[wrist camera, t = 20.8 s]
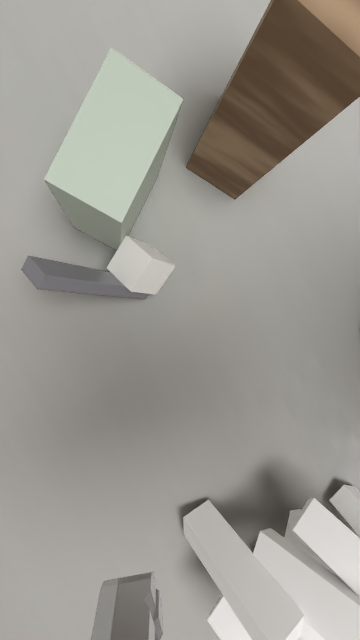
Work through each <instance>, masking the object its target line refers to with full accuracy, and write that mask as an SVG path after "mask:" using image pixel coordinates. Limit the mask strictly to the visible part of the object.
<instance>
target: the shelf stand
mask: <svg viewBox="0 0 360 640" xmlns="http://www.w3.org/2000/svg"><path fill="white" fill-rule="evenodd" d="M358 97H360V0H271V1H270V3H269V5H268V7H267V9H266V11H265V13H264V15H263V17H262V19H261V21H260V23H259V25H258V26H257V28H256V30H255V32H254V34H253V36H252V38H251V40H250V42H249V44H248V46H247V48H246V50H245V52H244V53H243V55H242V57H241V59H240V61H239V63H238V65H237V67H236V69H235V71H234V73H233V75H232V77H231V79H230V81H229V82H228V84H227V86H226V88H225V90H224V92H223V94H222V96H221V98H220V100H219V102H218V104H217V106H216V108H215V110H214V112H213V114H212V116H211V118H210V120H209V122H208V124H207V126H206V128H205V130H204V132H203V134H202V136H201V138H200V140H199V142H198V144H197V146H196V148H195V150H194V152H193V154H192V156H191V158H190V160H189V162H188V164H187V166H186V168H187V169H189V170H191V171H192V172H194V173H195V174H197V175H198V176H200V177H201V178H203V179H204V180H206V181H207V182H209V183H211V184H212V185H214V186H215V187H217V188H218V189H220V190H221V191H223V192H224V193H226V194H227V195H229V196H231V197H232V198H234V199H236V198H237V197H239V196H240V195H241V194H242V193H243V192H245V191H246V190H247V189H248V188H249V187H251V186H252V185H253V184H254V183H255V182H257V181H258V180H259V179H260V178H262V177H263V176H264V175H265V174H266V173H268V172H269V171H270V170H271V169H272V168H274V167H275V166H276V165H277V164H278V163H280V162H281V161H282V160H283V159H285V158H286V157H287V156H288V155H289V154H291V153H292V152H293V151H294V150H295V149H297V148H298V147H299V146H300V145H302V144H303V143H304V142H305V141H306V140H308V139H309V138H310V137H311V136H312V135H314V134H315V133H316V132H317V131H318V130H320V129H321V128H322V127H323V126H325V125H326V124H327V123H328V122H329V121H331V120H332V119H333V118H334V117H335V116H337V115H338V114H339V113H340V112H341V111H343V110H344V109H345V108H346V107H348V106H349V105H350V104H351V103H352V102H354V101H355V100H356V99H357V98H358Z"/></svg>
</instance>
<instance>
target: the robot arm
mask: <svg viewBox="0 0 360 640" xmlns="http://www.w3.org/2000/svg"><path fill="white" fill-rule="evenodd" d="M162 634H163V617H162V604H161V598H160V593H159V590H157V589H156V578H155V575H154V572H149V573H144V574H138V575H133V576H128V577H123V578H116V579H112V580H107V581H104V582H103V584H102V587H101V589H100V594H99V600H98V605H97V610H96V616H95V621H94V626H93V631H92V637H91V640H160V639H161V636H162Z"/></svg>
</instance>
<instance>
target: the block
mask: <svg viewBox="0 0 360 640" xmlns="http://www.w3.org/2000/svg"><path fill="white" fill-rule="evenodd" d="M182 102H183V98H181V97H180V96H179V95H177V94H176V93H174V92H173V91H172V90H170V89H169V88H167V87H166V86H165V85H163V84H162V83H160V82H159V81H158V80H156V79H155V78H153V77H152V76H151V75H149V74H148V73H146V72H145V71H144V70H142V69H141V68H139V67H138V66H137V65H135V64H134V63H132V62H131V61H130V60H128V59H127V58H125V57H124V56H123V55H121V54H120V53H118V52H117V51H116V50H114V49H113V48H112V47H111V49H110V51H109V53H108V54H107V56H106V58H105V60H104V62H103V64H102V66H101V68H100V70H99V72H98V74H97V76H96V78H95V80H94V82H93V84H92V86H91V88H90V90H89V92H88V94H87V96H86V98H85V100H84V102H83V104H82V106H81V107H80V109H79V111H78V113H77V115H76V117H75V119H74V121H73V123H72V125H71V127H70V129H69V131H68V133H67V135H66V137H65V139H64V141H63V143H62V145H61V147H60V149H59V151H58V153H57V155H56V157H55V159H54V160H53V162H52V164H51V166H50V168H49V170H48V172H47V174H46V176H45V178H44V180H45V182H46V184H47V185H48V187H49V188H50V190H51V192H52V193H53V195H54V196H55V198H56V199H57V201H58V203H59V204H60V206H61V207H62V209H63V210H64V212H65V214H66V215H67V217H68V218H69V220H70V222H71V223H72V225H73V226H74V228H76V229H78V230H80V231H82V232H83V233H85V234H87V235H89V236H91V237H93V238H95V239H97V240H98V241H100V242H102V243H104V244H106V245H108V246H110V247H112V248H113V249H115V250H118V248H119V246H120V245H121V243H122V241H123V240H124V238H125V236H126V235H127V236H128V235H129V233H130V231H131V229H132V227H133V225H134V223H135V221H136V219H137V217H138V215H139V213H140V211H141V209H142V207H143V205H144V203H145V201H146V199H147V197H148V195H149V193H150V191H151V189H152V187H153V185H154V183H155V181H156V179H157V177H158V174H159V171H160V168H161V165H162V162H163V159H164V156H165V153H166V150H167V147H168V144H169V141H170V138H171V135H172V132H173V129H174V126H175V123H176V120H177V117H178V114H179V111H180V108H181V105H182Z"/></svg>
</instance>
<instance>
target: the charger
mask: <svg viewBox="0 0 360 640" xmlns="http://www.w3.org/2000/svg"><path fill="white" fill-rule="evenodd" d="M175 267H176V266H175V265H174V264H173V263H172V262H170V261H169V260H168V259H167V258H166V257H165V256H163V255H162V254H161V253H160V252H159V251H158V250H156V249H155V248H154V247H153V246H151V245H149V244H146V243H144V242H142V241H139V240H137V239H134V238H132V237H130V236H127V235H126V236H125V238H124V240H123V241H122V243H121V245H120V246H119V248H118V250H117V251H116V253H115V255H114V256H113V258H112V260H111V261H110V263H109V265H108V266H107V269H108V270H109V271H110V272H106V271H101V270H96V269H91V268H86V267H82V266H77V265H72V264H67V263H62V262H57V261H52V260H47V259H42V258H37V257H33V256H28V257H27V259H26V261H25V263H24V265H23V267H22V269H21V270H22V271H23V273H24V274H25V275H26V276H27V277H28V278H29V280H30V281H31V282H32V283H33V284H34V286H35V287H36V288H37V289H40V290H51V291H62V292H73V293H84V294H95V295H106V296H117V297H128V298H139V299H146V298H147V296H148V295H149V294H154V295H156V294H157V293H158V291H159V290H160V288H161V287H162V285H163V284H164V282H165V281H166V280H167V278H168V277H169V275H170V274H171V272H172V271H173V269H174V268H175Z"/></svg>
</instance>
